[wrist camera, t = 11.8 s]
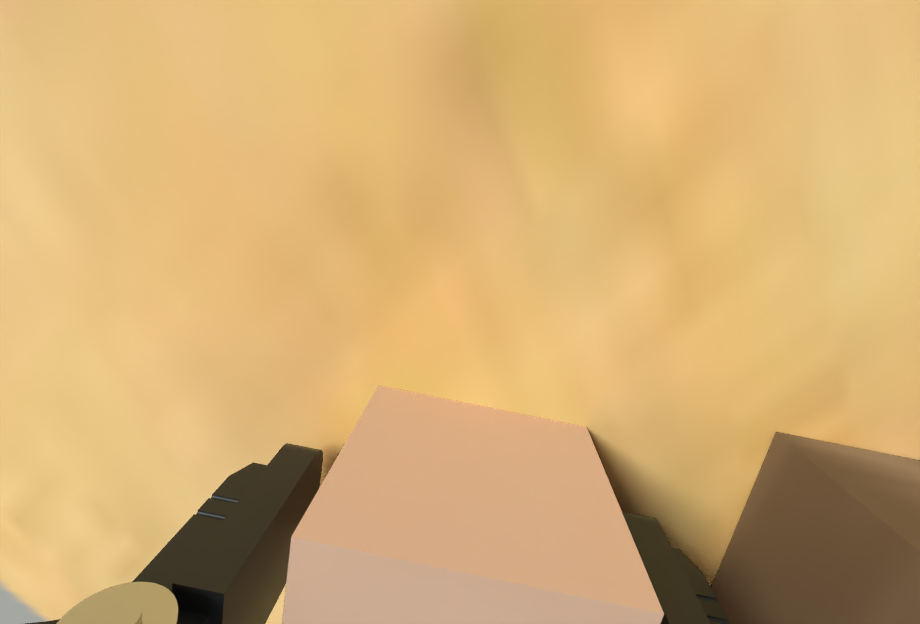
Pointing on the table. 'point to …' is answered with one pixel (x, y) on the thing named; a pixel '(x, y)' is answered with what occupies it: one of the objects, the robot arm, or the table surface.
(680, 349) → the table surface
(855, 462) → the plinth
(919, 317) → the table surface
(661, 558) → the robot arm
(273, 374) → the table surface
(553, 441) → the cube terracotta
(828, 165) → the table surface
